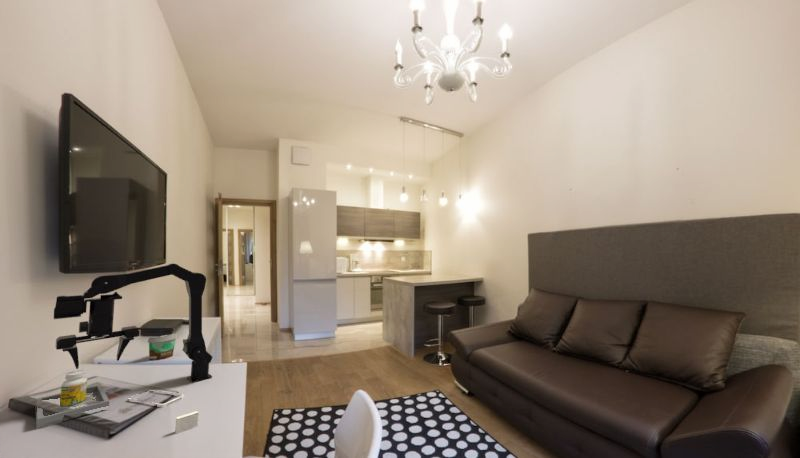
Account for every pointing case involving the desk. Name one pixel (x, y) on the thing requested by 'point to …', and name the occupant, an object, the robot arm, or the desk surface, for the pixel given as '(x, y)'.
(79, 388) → the supplement bottle
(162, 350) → the food container
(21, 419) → the desk surface
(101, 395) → the tray
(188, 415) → the eraser
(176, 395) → the phone case
